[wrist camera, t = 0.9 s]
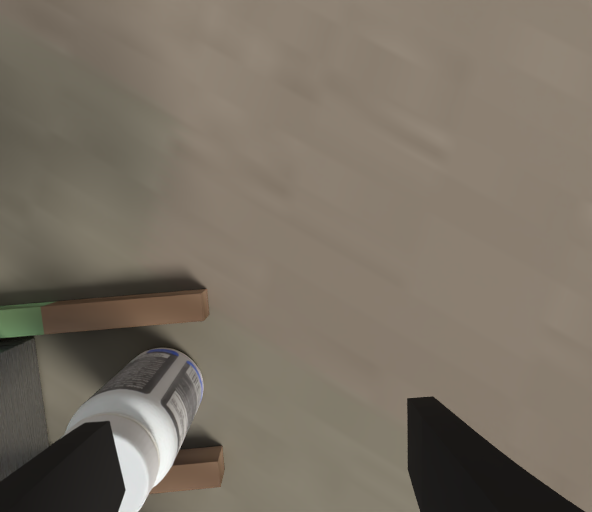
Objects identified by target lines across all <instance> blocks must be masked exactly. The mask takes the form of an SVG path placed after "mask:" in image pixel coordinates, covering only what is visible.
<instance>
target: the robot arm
mask: <svg viewBox="0 0 592 512" xmlns="http://www.w3.org/2000/svg"><path fill="white" fill-rule="evenodd" d="M407 413H408V472H409V475H410V479H411V482H412V485H413V489H414V492H415V496H416V499H417V502H418V506H419V509H420V512H585V511H583V510H582V509H580V508H579V507H577V506H576V505H574V504H573V503H571V502H570V501H568V500H567V499H565V498H564V497H562V496H561V495H559V494H558V493H557V492H555V491H554V490H552V489H551V488H549V487H548V486H547V485H545V484H544V483H542V482H541V481H540V480H538V479H537V478H535V477H534V476H533V475H531V474H530V473H528V472H527V471H526V470H524V469H523V468H522V467H520V466H519V465H518V464H516V463H515V462H514V461H512V460H511V459H510V458H508V457H507V456H506V455H504V454H503V453H502V452H501V451H499V450H498V449H497V448H495V447H494V446H493V445H492V444H490V443H489V442H488V441H487V440H485V439H484V438H483V437H482V436H480V435H479V434H478V433H477V432H475V431H474V430H473V429H472V428H471V427H469V426H468V425H467V424H466V423H464V422H463V421H462V420H461V419H460V418H458V417H457V416H456V415H455V414H454V413H452V412H451V411H450V410H449V409H448V408H446V407H445V406H444V405H443V404H442V403H440V402H439V401H438V400H437V399H435V398H434V397H420V398H407ZM125 491H126V489H125V485H124V480H123V476H122V472H121V468H120V463H119V459H118V455H117V450H116V446H115V442H114V437H113V433H112V429H111V424H110V421H100V422H86V423H83V424H82V425H80V426H79V427H77V428H75V429H74V430H72V431H71V432H69V433H68V434H66V435H65V436H63V437H62V438H61V439H59V440H58V441H56V442H55V443H53V444H52V445H51V446H49V447H48V448H46V449H45V450H44V451H42V452H41V453H39V454H38V455H37V456H35V457H34V458H32V459H31V460H30V461H28V462H27V463H25V464H24V465H23V466H21V467H20V468H18V469H17V470H16V471H14V472H13V473H11V474H10V475H9V476H7V477H6V478H4V479H3V480H2V481H0V512H118V511H119V508H120V505H121V503H122V500H123V497H124V494H125Z"/></svg>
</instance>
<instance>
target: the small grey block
mask: <svg viewBox="0 0 592 512" xmlns="http://www.w3.org/2000/svg"><path fill="white" fill-rule="evenodd" d="M48 447H49V442H48V435H47V428H46V420H45V413H44V406H43V398H42V391H41V384H40V376H39V369H38V362H37V354H36V347H35V339H34V338H32V339H20V340H8V341H0V481H2V480H3V479H4V478H6V477H7V476H9V475H10V474H11V473H13V472H14V471H16V470H17V469H18V468H20V467H21V466H23V465H24V464H25V463H27V462H28V461H30V460H31V459H32V458H34V457H35V456H37V455H38V454H39V453H41V452H42V451H44V450H45V449H46V448H48Z"/></svg>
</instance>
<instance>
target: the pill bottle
mask: <svg viewBox="0 0 592 512" xmlns="http://www.w3.org/2000/svg"><path fill="white" fill-rule="evenodd" d="M202 396H203V378H202V375H201V372H200V370H199V368H198V367H197V365H196V364H195V363H194V362H193V360H191V359H190V358H189V357H188V356H187V355H185V354H184V353H182V352H180V351H177V350H175V349H171V348H154V349H150V350H147V351H145V352H143V353H141V354H139V355H138V356H137V357H135V358H134V359H133V360H132V361H130V362H129V363H128V364H127V365H126V366H125V367H124V368H123V369H122V370H121V371H119V372H118V373H117V374H116V375H115V376H114V377H113V378H112V379H110V380H109V381H108V382H107V383H106V384H105V385H104V386H103V387H102V388H101V389H99V390H98V391H97V392H96V393H95V394H94V395H93V396H92V397H91V398H89V399H88V400H87V401H86V402H85V403H84V404H83V405H82V406H81V407H80V408H79V409H78V410H77V411H76V413H75V414H74V415H73V417H72V418H71V420H70V422H69V424H68V426H67V429H66V432H65V434H64V435H63V436H65V435H66V434H68V433H69V432H71V431H72V430H74V429H75V428H77V427H79V426H80V425H82V424H83V423H86V422H100V421H110V424H111V429H112V433H113V437H114V442H115V446H116V450H117V455H118V459H119V463H120V468H121V472H122V476H123V480H124V485H125V489H126V491H125V494H124V497H123V500H122V503H121V505H120V508H119V511H118V512H138V511H139V510H140V509H141V507H142V505H143V504H144V502H145V500H146V498H147V496H148V494H149V493H150V491H151V489H152V488H153V487H155V486H156V485H157V484H158V483H159V482H160V481H161V480H162V479H163V478H164V477H165V476H166V474H167V473H168V471H169V470H170V468H171V467H172V465H173V463H174V461H175V458H176V456H177V454H178V452H179V450H180V447H181V445H182V443H183V441H184V438H185V436H186V434H187V432H188V429H189V427H190V425H191V423H192V421H193V418H194V416H195V414H196V412H197V410H198V407H199V405H200V402H201V399H202ZM63 436H62V437H63ZM62 437H61V438H62ZM61 438H60V439H61Z"/></svg>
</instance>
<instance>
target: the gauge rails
mask: <svg viewBox="0 0 592 512" xmlns="http://www.w3.org/2000/svg"><path fill="white" fill-rule="evenodd" d="M208 315H209V305H208V295H207V289H199V290H187V291H175V292H163V293H151V294H139V295H127V296H115V297H103V298H91V299H79V300H67V301H55V302H43V303H31V304H19V305H7V306H0V338H8V337H20V336H32V335H43V334H55V333H67V332H79V331H90V330H102V329H114V328H125V327H137V326H149V325H160V324H172V323H184V322H195V321H204V320H205V319H206V318H207V317H208ZM224 470H225V468H224V458H223V448H222V446H214V447H204V448H193V449H183V450H179V452H178V454H177V456H176V458H175V461H174V463H173V465H172V467H171V468H170V470H169V471H168V473H167V474H166V476H165V477H164V478H163V479H162V480H161V481H160V482H159V483H158V484H157V485H156V486H155V487H153V488H152V489H151V491H150V493H149V494H154V493H164V492H174V491H184V490H194V489H204V488H214V487H221V483H222V478H223V474H224Z"/></svg>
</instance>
